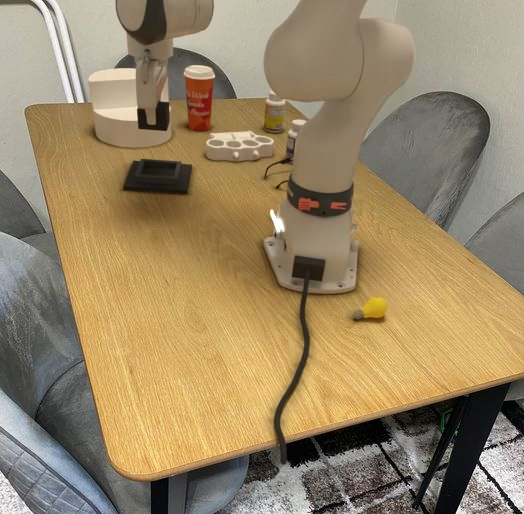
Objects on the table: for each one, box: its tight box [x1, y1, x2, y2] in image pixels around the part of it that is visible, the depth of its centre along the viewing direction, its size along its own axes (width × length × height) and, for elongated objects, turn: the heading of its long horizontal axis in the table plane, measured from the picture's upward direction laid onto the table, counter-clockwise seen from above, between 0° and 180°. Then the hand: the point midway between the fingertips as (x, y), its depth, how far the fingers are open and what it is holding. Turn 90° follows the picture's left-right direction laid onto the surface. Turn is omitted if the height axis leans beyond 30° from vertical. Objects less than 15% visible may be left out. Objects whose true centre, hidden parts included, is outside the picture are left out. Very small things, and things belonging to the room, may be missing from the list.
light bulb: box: [353, 296, 388, 320], centre depth 87 cm, size 3×6×4 cm, turn 110°
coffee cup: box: [183, 64, 216, 132], centre depth 142 cm, size 8×8×15 cm
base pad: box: [122, 158, 193, 195], centre depth 120 cm, size 14×14×2 cm
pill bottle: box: [284, 119, 308, 165], centre depth 132 cm, size 5×5×10 cm
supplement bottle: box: [263, 90, 287, 134], centre depth 146 cm, size 6×6×10 cm
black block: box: [137, 101, 170, 131], centre depth 111 cm, size 6×6×4 cm
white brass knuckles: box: [205, 130, 275, 163], centre depth 135 cm, size 3×18×15 cm
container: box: [88, 67, 173, 149], centre depth 135 cm, size 20×20×13 cm
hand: (154, 117), depth 111 cm, fingers closed on black block, 6 cm apart
